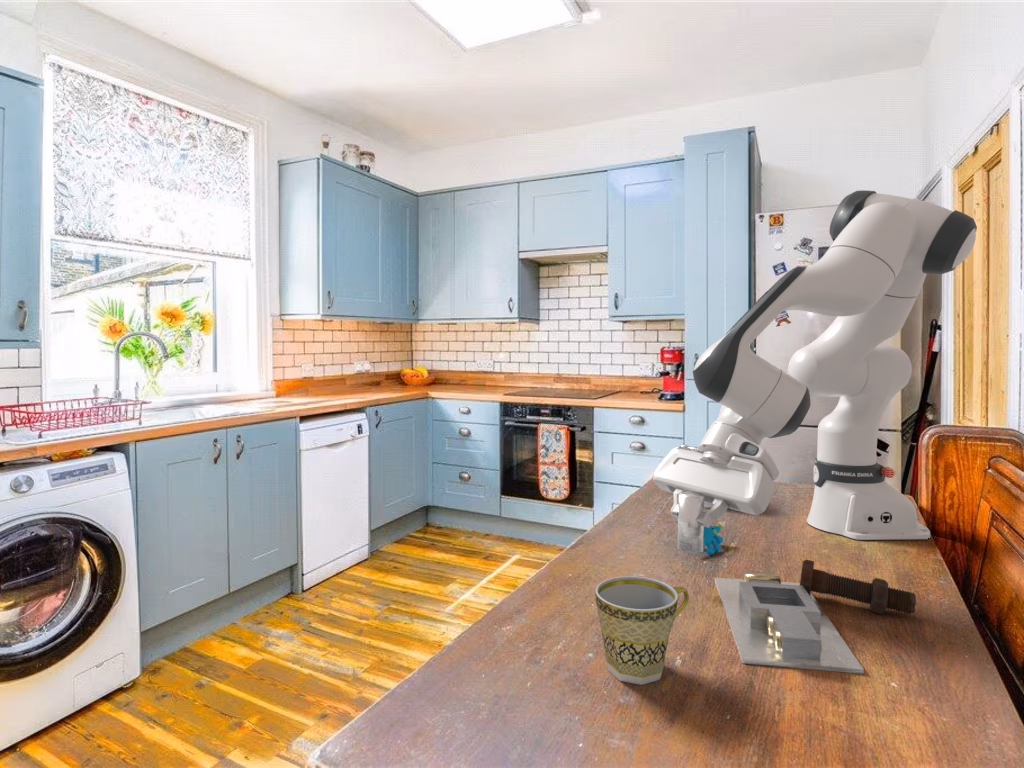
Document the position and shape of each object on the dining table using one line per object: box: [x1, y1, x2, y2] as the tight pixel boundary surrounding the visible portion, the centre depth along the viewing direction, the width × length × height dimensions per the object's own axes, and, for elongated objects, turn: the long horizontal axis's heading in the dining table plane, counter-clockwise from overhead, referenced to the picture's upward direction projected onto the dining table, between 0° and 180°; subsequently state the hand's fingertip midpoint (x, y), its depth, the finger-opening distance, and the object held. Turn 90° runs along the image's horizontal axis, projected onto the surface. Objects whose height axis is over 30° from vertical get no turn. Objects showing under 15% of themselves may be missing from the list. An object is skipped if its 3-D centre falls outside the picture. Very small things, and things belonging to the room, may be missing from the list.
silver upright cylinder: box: [677, 492, 705, 554], centre depth 98 cm, size 4×4×9 cm
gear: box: [675, 518, 724, 556], centre depth 118 cm, size 11×6×10 cm
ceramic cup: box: [594, 575, 690, 686], centre depth 75 cm, size 13×10×10 cm
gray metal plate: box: [714, 571, 865, 675], centre depth 87 cm, size 14×26×4 cm, turn 169°
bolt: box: [799, 559, 917, 615], centre depth 91 cm, size 6×5×15 cm
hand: (688, 520), depth 98 cm, fingers closed on silver upright cylinder, 4 cm apart
